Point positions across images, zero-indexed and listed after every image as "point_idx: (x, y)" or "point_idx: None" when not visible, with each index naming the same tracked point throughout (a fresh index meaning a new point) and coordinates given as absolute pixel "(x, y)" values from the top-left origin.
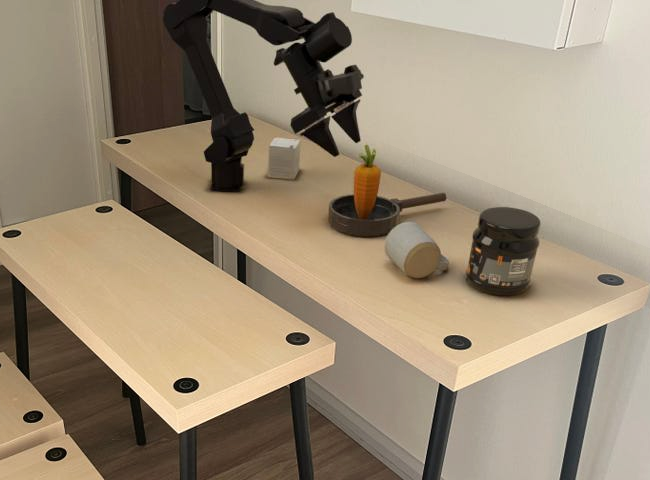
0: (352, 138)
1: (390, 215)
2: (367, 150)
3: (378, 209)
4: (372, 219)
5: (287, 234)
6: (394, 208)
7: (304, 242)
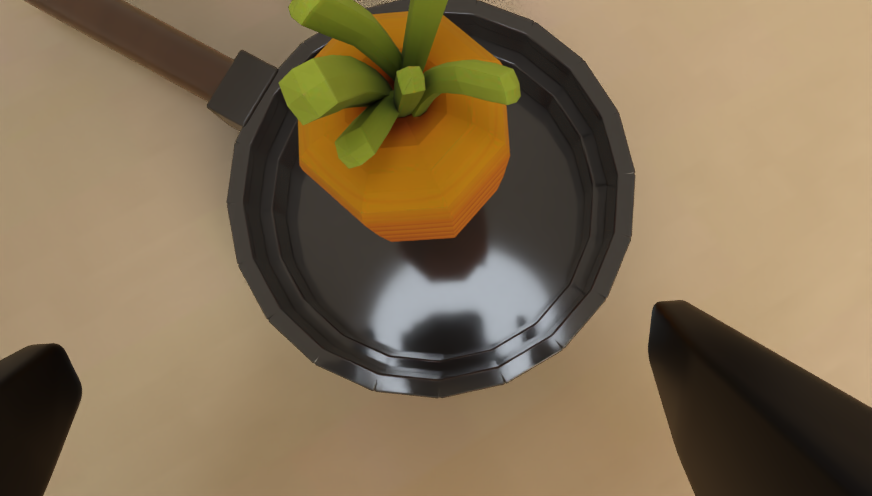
0: (49, 454)
1: None
2: (350, 73)
3: (282, 194)
4: None
5: None
6: None
7: (821, 321)
